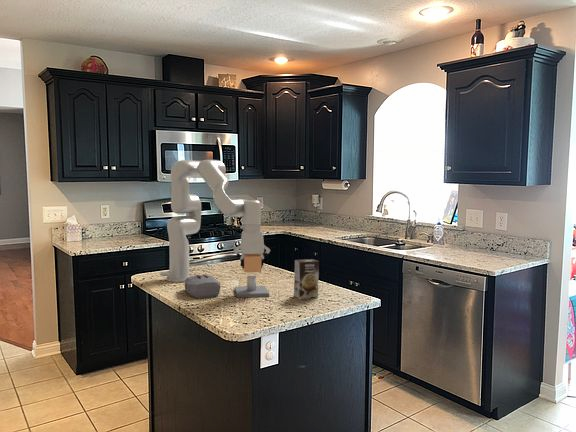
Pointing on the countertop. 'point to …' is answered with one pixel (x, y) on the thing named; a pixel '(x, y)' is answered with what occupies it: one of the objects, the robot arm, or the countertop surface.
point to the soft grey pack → (202, 286)
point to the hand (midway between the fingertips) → (252, 267)
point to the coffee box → (306, 278)
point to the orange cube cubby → (252, 263)
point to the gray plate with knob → (251, 289)
